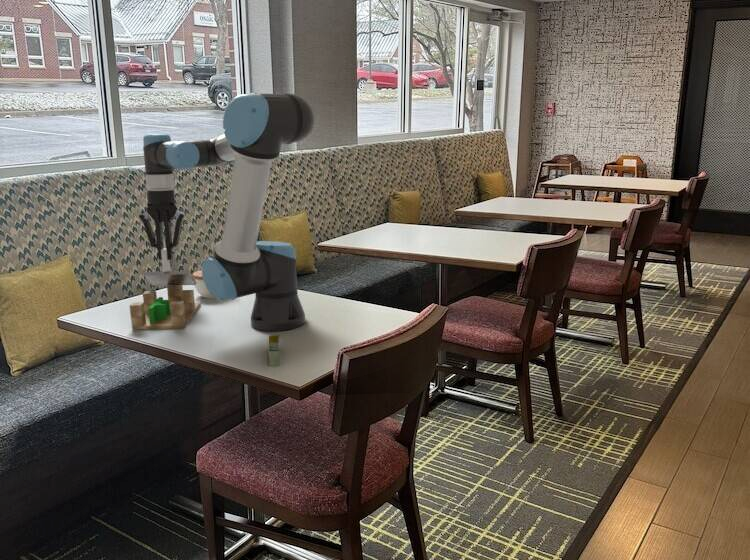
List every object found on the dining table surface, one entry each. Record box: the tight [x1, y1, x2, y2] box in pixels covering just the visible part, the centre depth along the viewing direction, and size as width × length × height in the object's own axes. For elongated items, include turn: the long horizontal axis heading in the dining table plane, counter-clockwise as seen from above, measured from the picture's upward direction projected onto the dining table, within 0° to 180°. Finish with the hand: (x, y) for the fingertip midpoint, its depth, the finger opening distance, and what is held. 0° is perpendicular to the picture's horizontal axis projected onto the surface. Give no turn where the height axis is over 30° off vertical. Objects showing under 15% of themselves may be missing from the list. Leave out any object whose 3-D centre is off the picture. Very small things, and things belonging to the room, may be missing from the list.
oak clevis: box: [129, 285, 201, 330], centre depth 198 cm, size 14×22×7 cm, turn 2°
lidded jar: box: [192, 269, 215, 299], centre depth 220 cm, size 11×11×9 cm
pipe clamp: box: [148, 296, 171, 324], centre depth 195 cm, size 11×4×5 cm, turn 2°
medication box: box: [267, 334, 280, 367], centre depth 165 cm, size 12×3×4 cm, turn 8°
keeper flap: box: [143, 270, 196, 287], centre depth 203 cm, size 13×9×1 cm
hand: (166, 270), depth 199 cm, fingers closed
